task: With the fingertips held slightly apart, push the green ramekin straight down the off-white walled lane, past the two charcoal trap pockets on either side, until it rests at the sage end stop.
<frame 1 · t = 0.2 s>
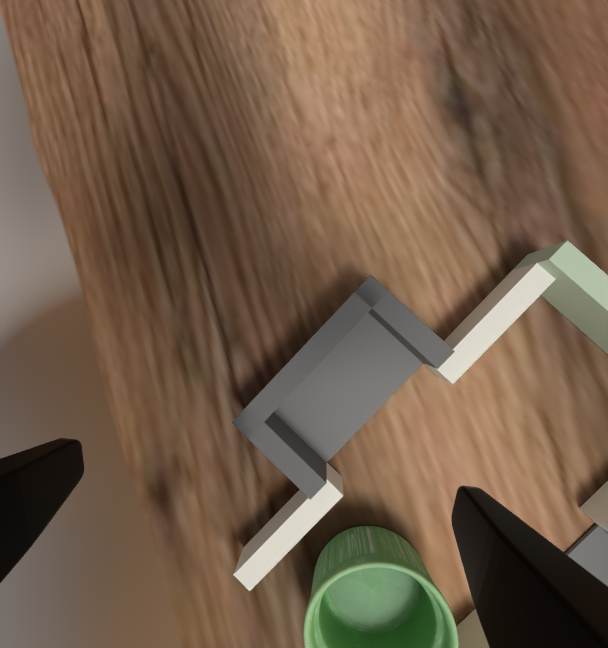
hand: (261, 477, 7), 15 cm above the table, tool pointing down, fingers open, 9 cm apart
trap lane: (457, 491, 22), on the table
ramekin: (368, 575, 22), on the table
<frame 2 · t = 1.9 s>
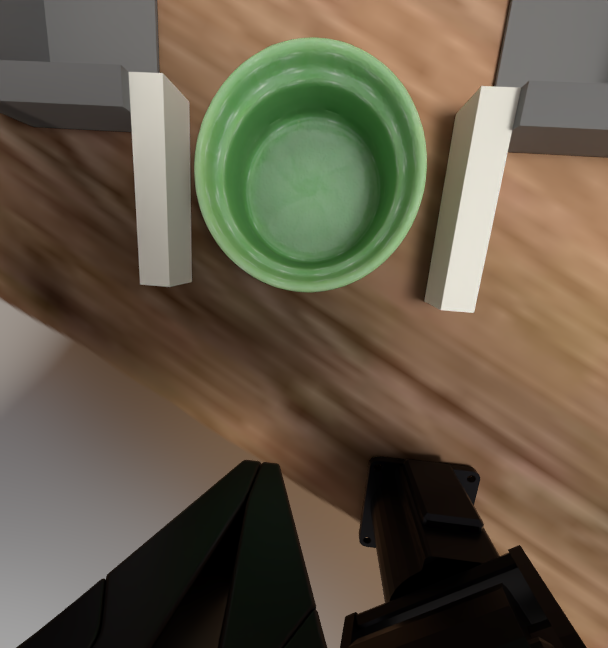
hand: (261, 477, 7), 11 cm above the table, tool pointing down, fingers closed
ramekin: (312, 196, 16), on the table
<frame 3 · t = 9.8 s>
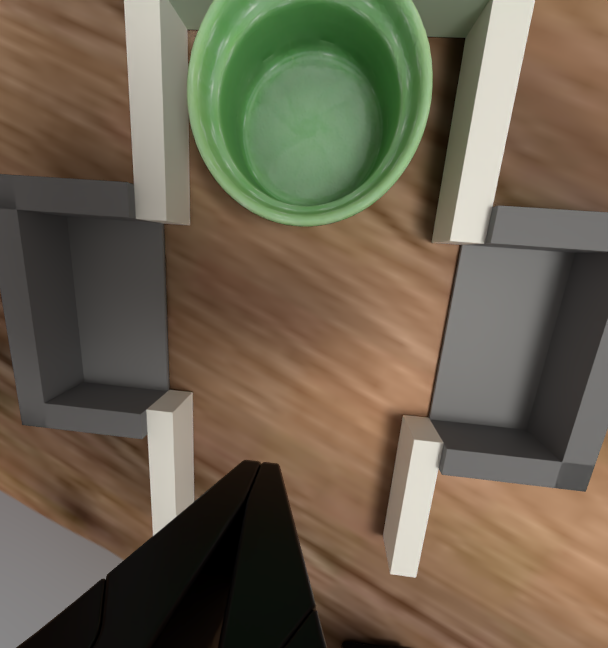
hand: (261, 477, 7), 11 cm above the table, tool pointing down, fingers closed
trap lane: (301, 324, 17), on the table
ramekin: (312, 140, 15), on the table, touching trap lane
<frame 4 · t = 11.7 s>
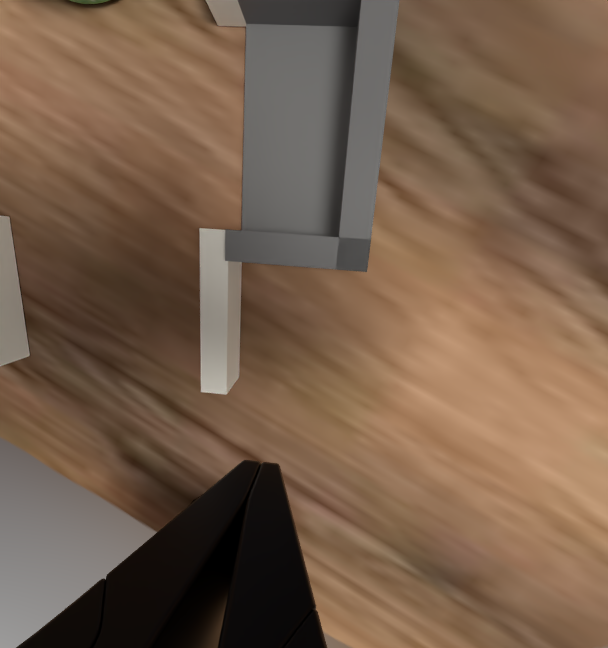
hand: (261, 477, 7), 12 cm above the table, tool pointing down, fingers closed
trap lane: (104, 130, 17), on the table
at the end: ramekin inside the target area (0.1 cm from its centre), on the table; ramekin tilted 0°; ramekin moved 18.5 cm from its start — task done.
